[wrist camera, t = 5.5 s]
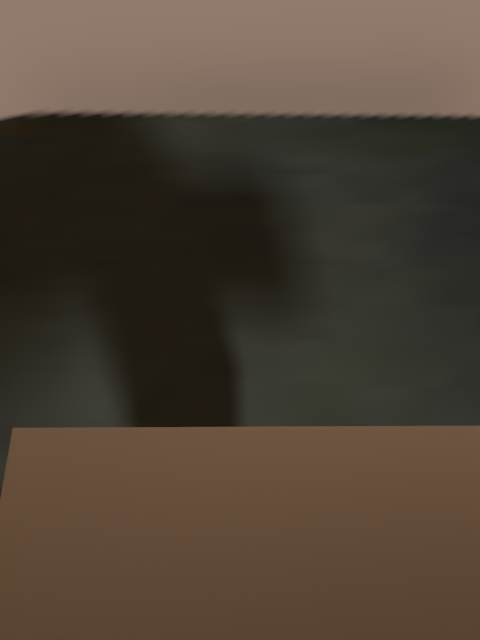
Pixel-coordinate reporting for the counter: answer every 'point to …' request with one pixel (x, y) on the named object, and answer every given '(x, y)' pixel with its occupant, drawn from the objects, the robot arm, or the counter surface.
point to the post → (241, 533)
